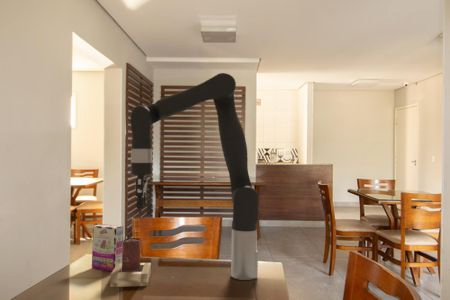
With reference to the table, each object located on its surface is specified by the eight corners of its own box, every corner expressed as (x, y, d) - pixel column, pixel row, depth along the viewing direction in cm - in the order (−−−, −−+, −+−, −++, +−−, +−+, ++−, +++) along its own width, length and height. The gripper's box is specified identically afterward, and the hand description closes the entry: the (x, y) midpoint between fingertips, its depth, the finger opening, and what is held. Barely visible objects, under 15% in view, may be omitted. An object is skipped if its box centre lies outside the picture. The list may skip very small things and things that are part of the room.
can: (135, 283, 114) (136, 242, 115) (118, 282, 116) (119, 240, 116) (143, 277, 120) (144, 238, 121) (126, 276, 122) (128, 237, 122)
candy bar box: (123, 268, 130) (124, 225, 130) (114, 272, 125) (115, 228, 125) (100, 264, 134) (101, 223, 134) (91, 268, 129) (92, 225, 130)
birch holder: (150, 273, 125) (150, 262, 125) (147, 285, 113) (147, 273, 113) (117, 274, 123) (117, 263, 123) (110, 286, 111) (110, 274, 111)
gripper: (150, 161, 115) (150, 209, 115) (153, 161, 129) (153, 203, 129) (128, 161, 114) (127, 209, 114) (133, 161, 128) (133, 204, 128)
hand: (141, 206), depth 121 cm, fingers open, 8 cm apart
